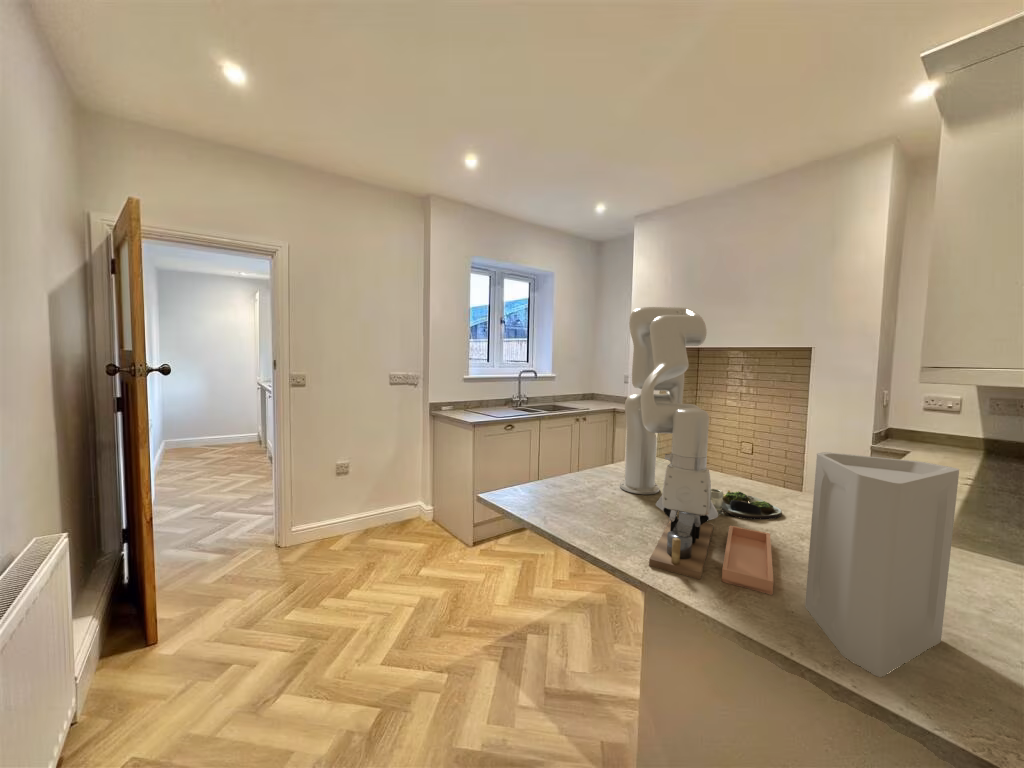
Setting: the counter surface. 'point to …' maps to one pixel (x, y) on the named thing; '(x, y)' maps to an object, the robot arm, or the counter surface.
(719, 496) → the valve
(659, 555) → the board
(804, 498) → the counter surface
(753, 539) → the slot holder
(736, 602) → the counter surface
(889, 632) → the paper bag
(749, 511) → the salad plate
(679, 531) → the grey long knobbed bar
